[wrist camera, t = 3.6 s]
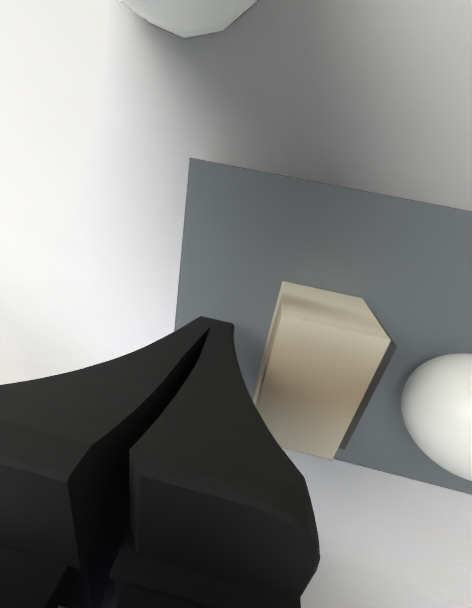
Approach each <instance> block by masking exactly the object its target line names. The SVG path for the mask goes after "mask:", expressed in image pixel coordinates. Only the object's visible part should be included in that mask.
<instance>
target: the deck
mask: <svg viewBox="0 0 472 608" xmlns="http://www.w3.org/2000/svg"><path fill="white" fill-rule="evenodd" d="M282 281H286V282H290V283H295V284H299V285H304V286H309V287H313V288H318V289H322V290H327V291H332V292H336V293H341V294H345V295H350V296H355V297H359V298H363V300H364V301H365V303H366V304H367V306H368V307H369V309H370V310H371V311H373V313H374V314H375V316H376V317H377V318H378V320H379V321H380V323H381V324H382V326H383V327H384V329H385V330H386V332H387V333H388V335H389V336H390V337H391V339H392V340H393V342H394V343H395V345H396V346H397V348H396V350H395V352H394V354H393V356H392V358H391V360H390V362H389V364H388V366H387V368H386V370H385V372H384V374H383V376H382V378H381V380H380V382H379V384H378V386H377V388H376V389H375V391H374V393H373V395H372V397H371V399H370V401H369V403H368V405H367V407H366V409H365V411H364V413H363V415H362V417H361V419H360V421H359V423H358V425H357V427H356V429H355V431H354V433H353V435H352V437H351V439H350V441H349V442H348V444H347V446H346V448H345V450H343V449H339V448H338V449H337V451H336V453H335V455H334V457H333V459H337V460H341V461H345V462H348V463H352V464H356V465H360V466H364V467H368V468H371V469H375V470H379V471H383V472H387V473H391V474H395V475H398V476H402V477H406V478H410V479H414V480H418V481H421V482H425V483H429V484H433V485H437V486H441V487H445V488H448V489H452V490H456V491H460V492H464V493H468V494H471V495H472V481H470V480H467V479H465V478H462V477H460V476H457V475H455V474H453V473H451V472H449V471H448V470H446V469H444V468H442V467H441V466H440V465H438V464H437V463H435V462H434V461H433V460H431V459H430V458H429V457H428V456H427V455H426V454H425V453H424V452H423V451H422V450H421V449H420V448H419V447H418V445H417V444H416V443H415V441H414V440H413V439H412V437H411V435H410V434H409V432H408V430H407V428H406V425H405V423H404V420H403V417H402V412H401V395H402V390H403V387H404V385H405V382H406V381H407V379H408V377H409V376H410V374H411V373H412V372H413V371H414V370H415V369H416V368H417V367H419V366H420V365H422V364H423V363H425V362H427V361H428V360H431V359H433V358H436V357H439V356H442V355H447V354H455V353H468V354H472V212H471V211H466V210H460V209H455V208H450V207H445V206H440V205H434V204H429V203H424V202H419V201H413V200H408V199H403V198H398V197H392V196H387V195H382V194H377V193H371V192H366V191H361V190H356V189H350V188H345V187H340V186H335V185H330V184H324V183H319V182H314V181H309V180H303V179H298V178H293V177H288V176H282V175H277V174H272V173H267V172H261V171H256V170H251V169H246V168H241V167H235V166H230V165H225V164H220V163H214V162H209V161H204V160H199V159H193V158H190V162H189V174H188V185H187V196H186V207H185V218H184V229H183V240H182V252H181V263H180V274H179V285H178V296H177V307H176V318H175V330H174V332H175V331H176V330H178V329H180V328H181V327H183V326H185V325H186V324H188V323H190V322H191V321H193V320H195V319H196V318H198V317H200V316H203V317H208V318H212V319H216V320H221V321H225V322H230V323H233V325H234V326H235V329H234V345H235V351H236V356H237V360H238V364H239V367H240V370H241V374H242V376H243V379H244V382H245V384H246V387H247V389H248V392H249V394H250V396H251V398H252V400H253V398H254V391H255V383H256V379H257V375H258V372H259V368H260V364H261V360H262V356H263V353H264V349H265V345H266V341H267V337H268V333H269V330H270V326H271V322H272V318H273V314H274V311H275V307H276V303H277V299H278V295H279V292H280V288H281V284H282Z"/></svg>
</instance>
